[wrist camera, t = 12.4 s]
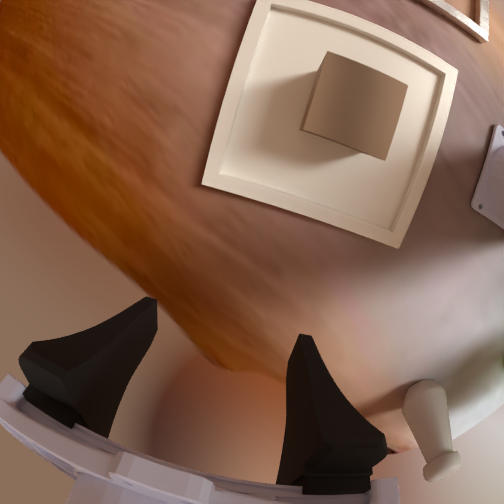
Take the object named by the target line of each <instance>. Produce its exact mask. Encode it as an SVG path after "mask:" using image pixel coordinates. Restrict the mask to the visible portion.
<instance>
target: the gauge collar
mask: <svg viewBox="0 0 504 504" xmlns="http://www.w3.org/2000/svg"><path fill="white" fill-rule="evenodd" d="M417 1H419V2H421V3H422V4H424V5H426V6H428V7H429V8H431V9H433V10H434V11H436V12H438V13H439V14H441V15H443V16H444V17H446V18H447V19H449V20H450V21H452V22H453V23H455V24H456V25H458V26H459V27H461V28H462V29H463V30H465V31H466V32H468V33H469V34H470V35H472V36H473V37H474V38H476V39H477V40H478V41H479V42H481V43H485V42H488V33H489V0H475V22H473V21H472V20H471V19H469V18H468V17H467V16H465V15H464V14H462V13H461V12H459V11H458V10H457V9H455V8H454V7H452V6H451V5H449V4H447V3H446V2H444V1H443V0H417Z"/></svg>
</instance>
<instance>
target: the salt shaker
mask: <svg viewBox="0 0 504 504" xmlns="http://www.w3.org/2000/svg"><path fill="white" fill-rule="evenodd" d="M402 413H403V415H404V417H405V419H406V421H407V423H408V425H409V427H410V429H411V431H412V433H413V435H414V437H415V439H416V441H417V443H418V445H419V448H420V450H421V452H422V454H423V456H424V458H425V460H426V462H427V464H426V465H425V466H424V468H423V476H424V478H425V480H426V481H429V482H435V481H439V480H442V479H444V478H446V477H448V476H450V475H452V474H453V473H455V472H456V471H457V470H458V469H459V468H460V466H461V458H460V455H459V453H458V451H453V448H452V438H451V429H450V420H449V412H448V404H447V397H446V393H445V390H444V389H443V387H442V386H440V385H439V384H438V383H437V382H435V381H434V380H424V379H423V380H421V381H419V382H417V383H416V384H414V385H412V386H410V387H409V389H408V391H407V393H406V394H405V397H404V403H403V408H402Z"/></svg>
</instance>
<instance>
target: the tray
mask: <svg viewBox="0 0 504 504" xmlns="http://www.w3.org/2000/svg"><path fill="white" fill-rule="evenodd" d="M327 51H330V52H332V53H335V54H338V55H341V56H344V57H346V58H349V59H351V60H354V61H357V62H359V63H361V64H364V65H366V66H369V67H371V68H373V69H375V70H378V71H380V72H382V73H384V74H386V75H389V76H391V77H393V78H395V79H397V80H399V81H401V82H403V83H405V84H407V85H408V88H407V92H406V96H405V99H404V103H403V107H402V110H401V113H400V117H399V120H398V124H397V127H396V130H395V133H394V136H393V139H392V143H391V146H390V149H389V152H388V155H387V157H386V160H385V161H384V160H381V159H378V158H375V157H372V156H370V155H367V154H364V153H361V152H358V151H356V150H353V149H351V148H348V147H346V146H343V145H340V144H338V143H335V142H332V141H330V140H327V139H324V138H321V137H318V136H315V135H312V134H309V133H306V132H303V131H300V130H299V129H300V125H301V122H302V119H303V116H304V113H305V109H306V106H307V103H308V100H309V96H310V93H311V90H312V87H313V83H314V80H315V77H316V74H317V70H318V68H319V66H320V65H321V63H322V61H323V59H324V57H325V55H326V53H327ZM457 74H458V70H457V69H455V68H454V67H452V66H451V65H449V64H448V63H446V62H445V61H443V60H442V59H440V58H439V57H437V56H435V55H434V54H432V53H431V52H429V51H427V50H425V49H424V48H422V47H420V46H418V45H417V44H415V43H413V42H411V41H409V40H407V39H405V38H404V37H402V36H400V35H398V34H396V33H394V32H391V31H389V30H387V29H385V28H383V27H381V26H378V25H376V24H374V23H372V22H369V21H367V20H364V19H362V18H359V17H357V16H354V15H351V14H349V13H346V12H343V11H340V10H337V9H334V8H331V7H328V6H325V5H322V4H318V3H315V2H311V1H307V0H257V1H256V4H255V6H254V9H253V12H252V15H251V17H250V20H249V23H248V26H247V28H246V31H245V34H244V37H243V40H242V43H241V46H240V49H239V52H238V55H237V58H236V61H235V64H234V67H233V70H232V73H231V77H230V80H229V83H228V86H227V90H226V93H225V96H224V100H223V103H222V107H221V110H220V114H219V117H218V121H217V125H216V128H215V132H214V136H213V140H212V144H211V147H210V151H209V155H208V159H207V163H206V167H205V172H204V176H203V180H202V185H206V186H210V187H213V188H217V189H220V190H224V191H227V192H231V193H234V194H237V195H241V196H244V197H248V198H251V199H254V200H257V201H261V202H264V203H267V204H270V205H274V206H277V207H280V208H283V209H286V210H289V211H292V212H295V213H299V214H302V215H305V216H308V217H311V218H314V219H317V220H319V221H322V222H325V223H328V224H331V225H334V226H337V227H340V228H343V229H345V230H348V231H351V232H354V233H357V234H359V235H362V236H365V237H368V238H370V239H373V240H376V241H378V242H381V243H384V244H386V245H389V246H392V247H394V248H397V249H399V247H400V245H401V243H402V241H403V238H404V236H405V234H406V232H407V230H408V227H409V225H410V223H411V221H412V218H413V216H414V214H415V211H416V209H417V206H418V204H419V201H420V199H421V196H422V194H423V191H424V189H425V186H426V183H427V181H428V178H429V175H430V172H431V170H432V167H433V164H434V161H435V158H436V155H437V152H438V149H439V146H440V142H441V139H442V136H443V132H444V129H445V125H446V122H447V118H448V114H449V110H450V106H451V102H452V98H453V93H454V89H455V84H456V79H457Z"/></svg>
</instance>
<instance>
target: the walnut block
mask: <svg viewBox="0 0 504 504" xmlns="http://www.w3.org/2000/svg"><path fill="white" fill-rule="evenodd" d="M407 88H408V85H407V84H405V83H403V82H401V81H399V80H397V79H395V78H393V77H391V76H389V75H386V74H384V73H382V72H380V71H378V70H375V69H373V68H371V67H369V66H366V65H364V64H361V63H359V62H357V61H354V60H351V59H349V58H346V57H344V56H341V55H338V54H335V53H332V52H330V51H327V53H326V55H325V57H324V59H323V61H322V63H321V65H320V66H319V68H318V70H317V74H316V77H315V80H314V83H313V87H312V90H311V93H310V96H309V100H308V103H307V106H306V109H305V113H304V116H303V119H302V122H301V125H300V129H299V130H300V131H303V132H306V133H309V134H312V135H315V136H318V137H321V138H324V139H327V140H330V141H332V142H335V143H338V144H340V145H343V146H346V147H348V148H351V149H353V150H356V151H358V152H361V153H364V154H367V155H370V156H372V157H375V158H378V159H381V160H384V161H385V160H386V157H387V155H388V152H389V149H390V146H391V143H392V139H393V136H394V133H395V130H396V127H397V124H398V120H399V117H400V113H401V110H402V107H403V103H404V99H405V96H406V92H407Z"/></svg>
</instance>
